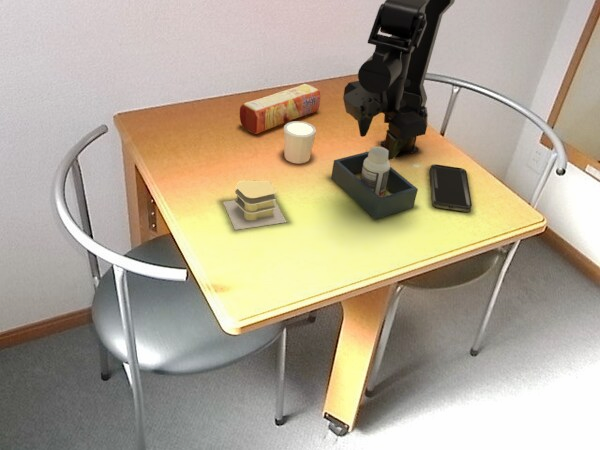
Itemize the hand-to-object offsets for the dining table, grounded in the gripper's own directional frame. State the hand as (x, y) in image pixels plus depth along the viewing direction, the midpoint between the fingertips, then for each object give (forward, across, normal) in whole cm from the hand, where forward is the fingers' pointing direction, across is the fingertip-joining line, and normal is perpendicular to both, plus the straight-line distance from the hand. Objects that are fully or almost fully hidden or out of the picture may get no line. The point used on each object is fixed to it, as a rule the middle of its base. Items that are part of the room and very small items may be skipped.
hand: (376, 147), depth 120 cm
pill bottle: (+11, +1, 0) cm, 11 cm away
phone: (+11, +6, +16) cm, 21 cm away
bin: (+10, +1, 0) cm, 11 cm away
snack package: (+11, -33, -2) cm, 35 cm away
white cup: (+11, -17, -7) cm, 21 cm away
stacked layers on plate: (+11, -3, -25) cm, 27 cm away
